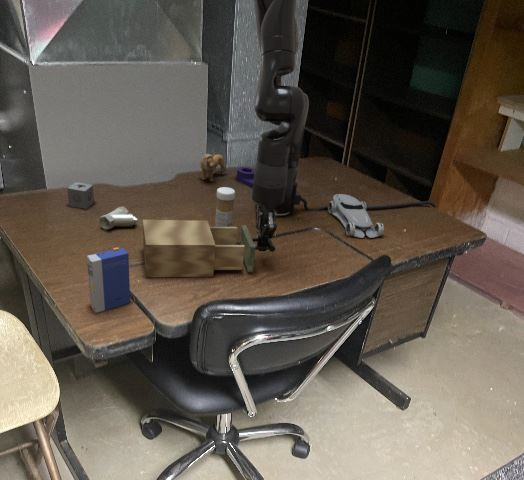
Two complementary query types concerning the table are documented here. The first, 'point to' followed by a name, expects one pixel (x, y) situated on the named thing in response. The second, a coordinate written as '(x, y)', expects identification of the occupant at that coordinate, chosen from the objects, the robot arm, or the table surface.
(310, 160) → the table surface
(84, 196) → the dice cube
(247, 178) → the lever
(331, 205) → the car model
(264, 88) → the robot arm
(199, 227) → the cabinet
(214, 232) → the drawer
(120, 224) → the pipe fitting
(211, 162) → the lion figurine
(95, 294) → the walkman
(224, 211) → the sprinkles bottle
